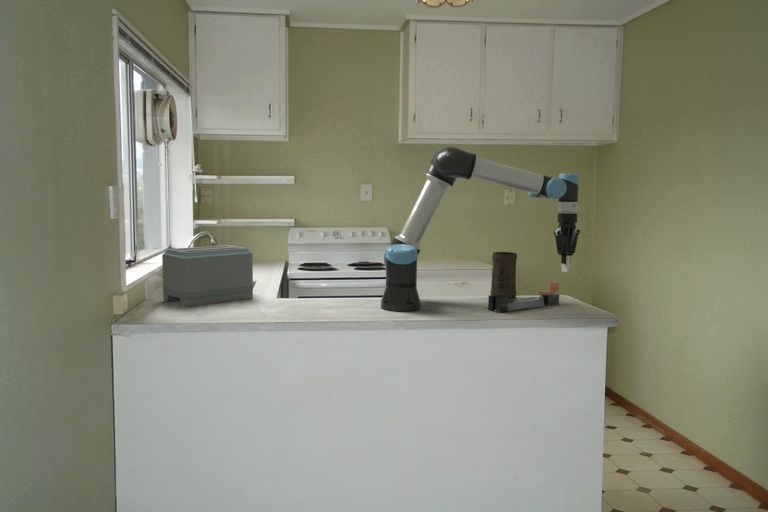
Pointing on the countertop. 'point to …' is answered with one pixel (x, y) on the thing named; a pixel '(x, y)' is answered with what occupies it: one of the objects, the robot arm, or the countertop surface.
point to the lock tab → (551, 288)
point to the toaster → (207, 275)
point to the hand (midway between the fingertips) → (565, 271)
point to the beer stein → (504, 274)
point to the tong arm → (517, 304)
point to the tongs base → (548, 299)
